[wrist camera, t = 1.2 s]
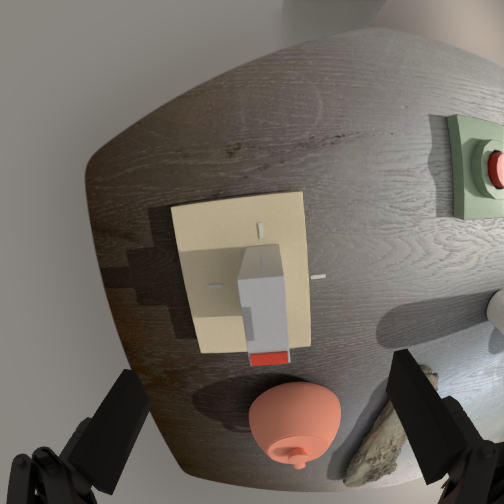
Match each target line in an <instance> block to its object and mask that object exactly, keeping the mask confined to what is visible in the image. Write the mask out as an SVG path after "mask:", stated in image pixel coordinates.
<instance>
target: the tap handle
mask: <svg viewBox="0 0 504 504" xmlns="http://www.w3.org/2000/svg"><path fill="white" fill-rule="evenodd" d="M237 285H238V292H239V299H240V305H241V312H242V318H243V325H244V331H245V338H246V344H247V350H248V356H249V362H250V366H257V365H272V364H284V363H290V348H289V333H288V318H287V305H286V292H285V280H284V272H283V265H282V259H281V253H280V246H279V244H275V245H265V246H255V247H247V248H246V250H245V254H244V257H243V261H242V264H241V268H240V271H239V275H238V278H237Z"/></svg>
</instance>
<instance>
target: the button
mask: <svg viewBox="0 0 504 504" xmlns="http://www.w3.org/2000/svg"><path fill="white" fill-rule="evenodd" d="M487 165H488V175H489V178H490V181H491V182H492V184H493V185H495V186H496V187H502V188H504V153H498V152H495V153H492V154H491V155H490V157H489V159H488V163H487Z"/></svg>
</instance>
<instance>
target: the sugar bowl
mask: <svg viewBox="0 0 504 504" xmlns="http://www.w3.org/2000/svg"><path fill="white" fill-rule="evenodd" d="M340 419H341V408H340V403H339V400H338V398H337V397H336V395H335V394H334V393H333V392H332V391H330V390H329V389H327V388H325V387H323V386H321V385H317V384H314V383H309V382H289V383H284V384H281V385H278V386H275V387H273V388H271V389H269V390H267V391H265V392H264V393H262V394H261V395H260V396H258V397H257V398H256V399H255V401H254V402H253V403H252V405H251V407H250V410H249V424H250V429H251V432H252V434H253V437H254V439H255V440H256V442H257V443H258V445H259V446H260V447H261V448H262V450H263V451H264V452H265V453H266V454H267V455H268V456H269V457H270V458H272V459H273V460H275V461H278V462H281V463H287V464H293V467H294V468H295V469H302V468H304V467H305V462H308V461H311V460H314V459H316V458H318V457H320V456H321V455H322V454H324V453H325V452H326V450H327V449H328V448H329V446H330V445H331V443H332V441H333V439H334V438H335V435H336V433H337V431H338V428H339V425H340Z"/></svg>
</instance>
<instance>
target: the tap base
mask: <svg viewBox="0 0 504 504" xmlns="http://www.w3.org/2000/svg"><path fill="white" fill-rule="evenodd" d="M171 212H172V218H173V224H174V230H175V236H176V242H177V247H178V253H179V258H180V263H181V268H182V273H183V278H184V283H185V287H186V292H187V297H188V301H189V306H190V310H191V314H192V318H193V323H194V327H195V331H196V335H197V339H198V343H199V347H200V350H201V353H226V352H247V351H248V350H247V344H246V338H245V331H244V325H243V318H242V312H241V305H240V299H239V292H238V285H237V278H238V275H239V271H240V268H241V264H242V261H243V257H244V254H245V250H246V248H247V247H255V246H265V245H275V244H279V246H280V253H281V259H282V265H283V272H284V280H285V292H286V305H287V318H288V333H289V348H297V347H306V346H311V326H310V296H309V274H308V257H307V242H306V228H305V216H304V204H303V194H302V191H300V190H288V191H278V192H268V193H258V194H249V195H241V196H233V197H225V198H217V199H210V200H203V201H196V202H189V203H182V204H179V205H176V206H173V207H171ZM318 278H326V274H318V275H311V279H318Z"/></svg>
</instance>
